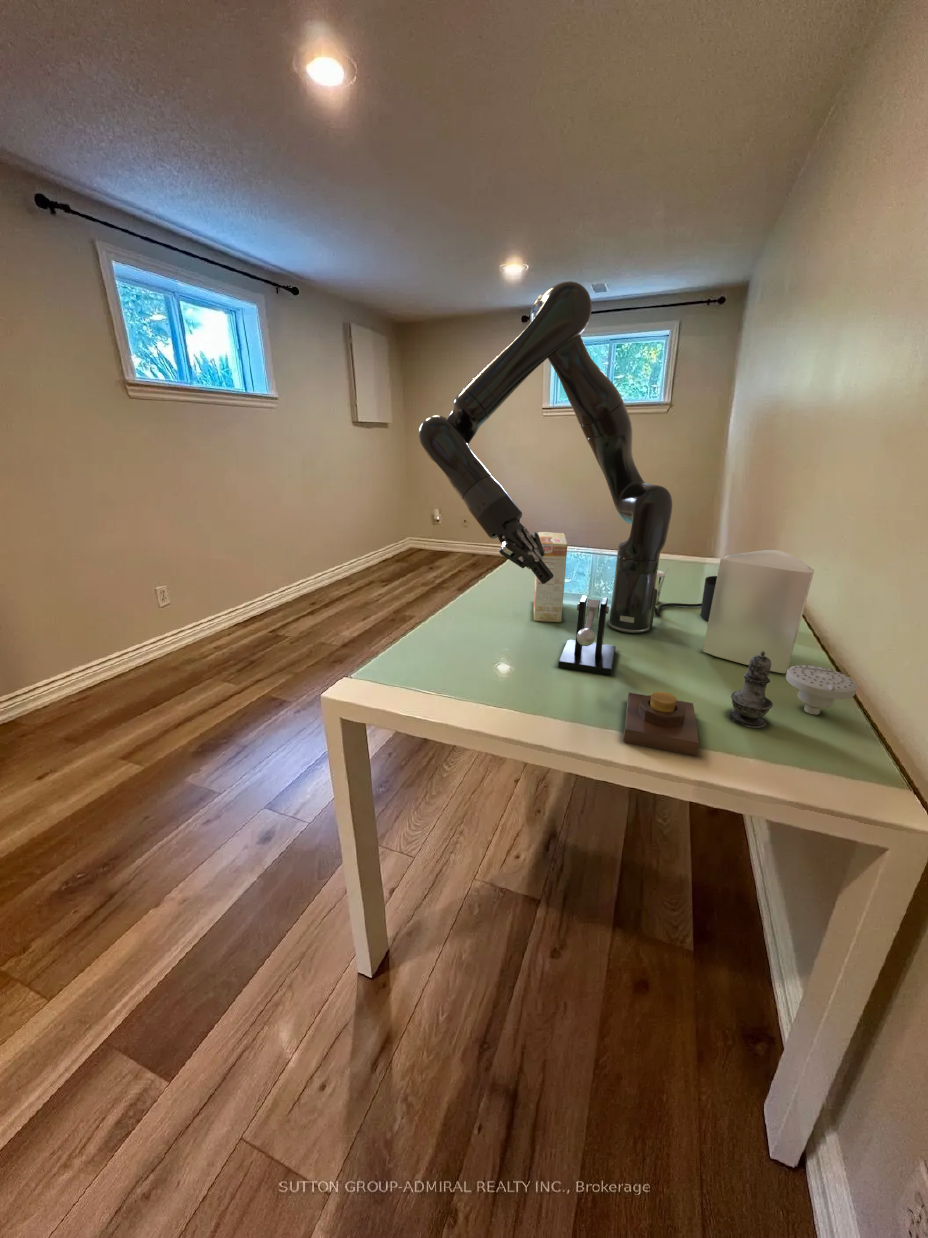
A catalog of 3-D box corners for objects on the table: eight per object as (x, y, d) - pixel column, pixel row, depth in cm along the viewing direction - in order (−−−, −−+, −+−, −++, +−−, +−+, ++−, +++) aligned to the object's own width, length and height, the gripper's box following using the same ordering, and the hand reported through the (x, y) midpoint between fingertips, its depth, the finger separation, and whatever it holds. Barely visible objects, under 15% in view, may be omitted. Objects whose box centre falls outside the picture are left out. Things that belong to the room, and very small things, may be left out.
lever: (593, 650, 88) (594, 636, 86) (574, 648, 89) (575, 633, 87) (601, 612, 98) (602, 598, 96) (585, 610, 99) (586, 596, 97)
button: (649, 699, 77) (651, 689, 77) (674, 703, 76) (676, 694, 76) (649, 710, 74) (651, 700, 73) (675, 715, 73) (677, 705, 72)
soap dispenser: (700, 654, 103) (720, 551, 95) (722, 636, 113) (741, 541, 105) (783, 677, 93) (813, 564, 86) (798, 655, 103) (826, 552, 96)
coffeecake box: (533, 602, 135) (537, 531, 128) (559, 603, 134) (565, 532, 127) (532, 621, 121) (537, 542, 114) (561, 622, 120) (568, 543, 113)
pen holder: (741, 617, 125) (749, 579, 121) (738, 628, 117) (746, 588, 114) (701, 610, 130) (708, 574, 126) (695, 620, 122) (702, 582, 119)
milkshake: (665, 605, 133) (670, 569, 130) (644, 604, 134) (649, 568, 131) (662, 600, 138) (667, 565, 134) (642, 599, 139) (647, 564, 135)
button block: (627, 703, 83) (630, 682, 82) (690, 714, 80) (695, 693, 79) (623, 741, 73) (626, 718, 71) (696, 756, 69) (701, 732, 68)
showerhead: (798, 681, 76) (782, 656, 85) (787, 722, 78) (772, 693, 87) (871, 691, 73) (846, 664, 82) (857, 733, 75) (835, 702, 84)
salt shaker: (719, 710, 81) (733, 643, 77) (752, 709, 82) (768, 643, 78) (740, 729, 76) (757, 659, 72) (776, 728, 76) (795, 658, 72)
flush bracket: (610, 675, 93) (618, 612, 89) (558, 667, 96) (563, 605, 92) (614, 651, 104) (622, 594, 99) (567, 645, 107) (572, 588, 102)
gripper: (487, 496, 84) (549, 576, 82) (521, 490, 95) (576, 561, 93) (461, 525, 88) (519, 601, 87) (496, 516, 99) (548, 584, 97)
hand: (548, 580), depth 90 cm, fingers closed
